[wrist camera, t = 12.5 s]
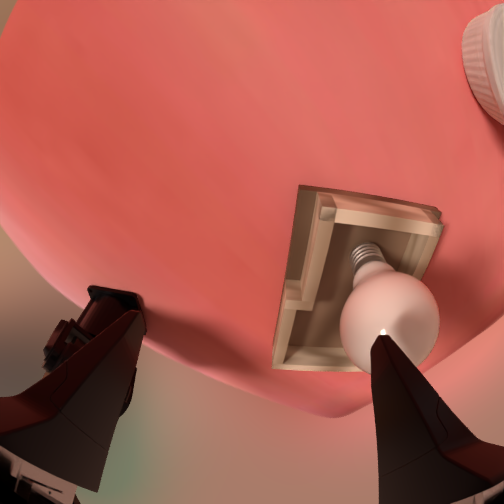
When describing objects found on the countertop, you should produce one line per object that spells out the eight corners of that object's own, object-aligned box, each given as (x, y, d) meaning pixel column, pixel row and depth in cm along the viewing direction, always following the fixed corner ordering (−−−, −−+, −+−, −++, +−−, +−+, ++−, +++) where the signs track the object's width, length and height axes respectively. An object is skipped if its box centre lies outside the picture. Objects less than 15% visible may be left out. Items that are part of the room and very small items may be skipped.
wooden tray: (272, 342, 30) (271, 368, 27) (298, 184, 20) (302, 204, 17) (373, 346, 30) (378, 370, 27) (436, 207, 19) (455, 227, 17)
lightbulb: (409, 257, 21) (460, 362, 12) (348, 293, 24) (371, 405, 15) (378, 201, 19) (445, 307, 10) (309, 245, 22) (324, 368, 12)
